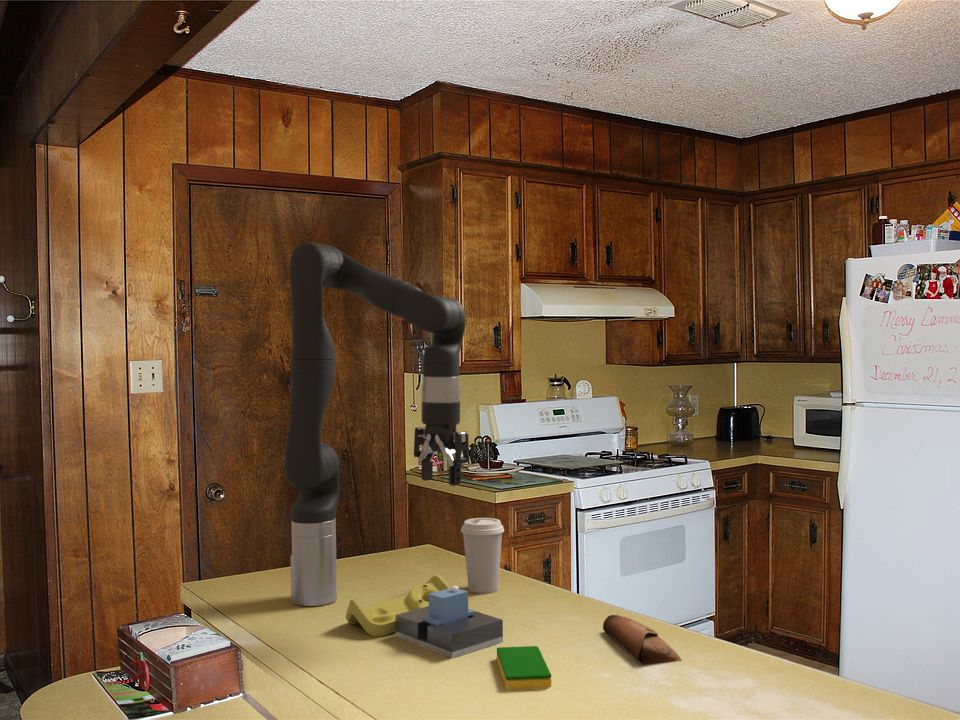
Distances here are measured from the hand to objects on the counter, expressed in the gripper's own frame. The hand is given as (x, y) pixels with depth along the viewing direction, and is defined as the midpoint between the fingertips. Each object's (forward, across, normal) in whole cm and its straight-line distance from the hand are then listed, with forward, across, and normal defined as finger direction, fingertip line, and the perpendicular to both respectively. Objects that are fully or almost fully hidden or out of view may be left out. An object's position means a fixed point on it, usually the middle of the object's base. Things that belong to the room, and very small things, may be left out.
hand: (440, 482), depth 172 cm
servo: (+26, -11, +6) cm, 28 cm away
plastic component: (+27, +4, +6) cm, 28 cm away
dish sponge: (+27, -32, +8) cm, 42 cm away
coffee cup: (+27, +10, -20) cm, 35 cm away
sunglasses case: (+27, -37, -16) cm, 48 cm away
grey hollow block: (+27, -10, +6) cm, 29 cm away
